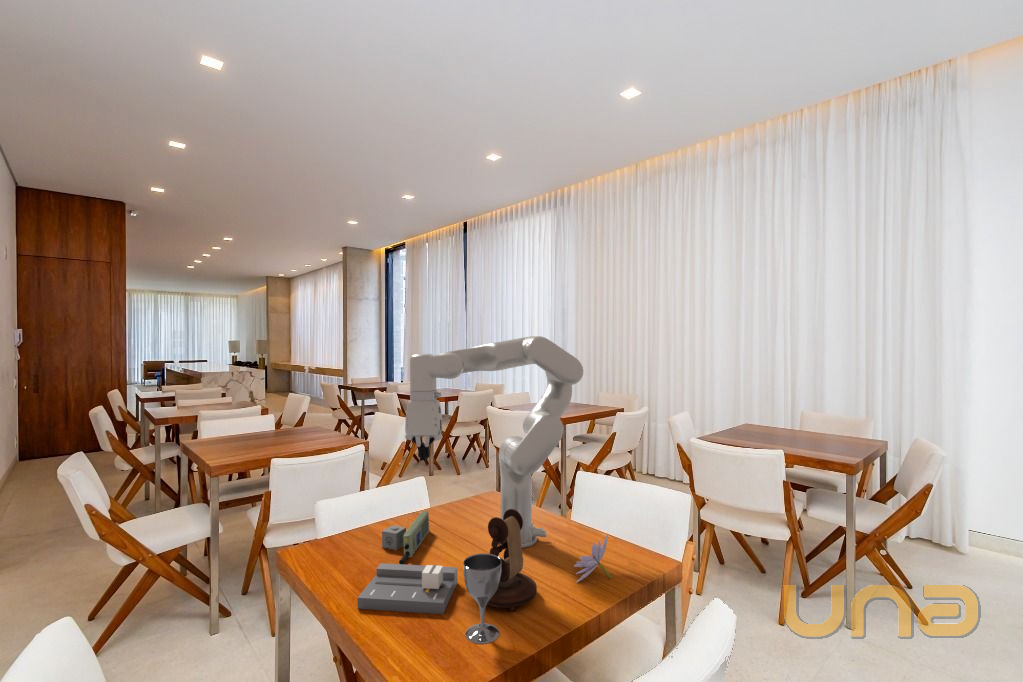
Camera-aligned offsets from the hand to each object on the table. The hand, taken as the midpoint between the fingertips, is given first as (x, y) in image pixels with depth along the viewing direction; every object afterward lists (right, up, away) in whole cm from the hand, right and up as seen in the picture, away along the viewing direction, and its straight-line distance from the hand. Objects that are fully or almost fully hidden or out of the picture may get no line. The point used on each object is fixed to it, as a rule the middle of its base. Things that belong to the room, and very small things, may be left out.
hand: (424, 459), depth 141 cm
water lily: (+46, -27, -14) cm, 55 cm away
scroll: (+24, -27, -25) cm, 44 cm away
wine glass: (+19, -27, -39) cm, 52 cm away
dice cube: (-10, -27, +4) cm, 29 cm away
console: (+1, -27, -24) cm, 36 cm away
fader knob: (+6, -24, -25) cm, 35 cm away
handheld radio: (-3, -27, +3) cm, 28 cm away
